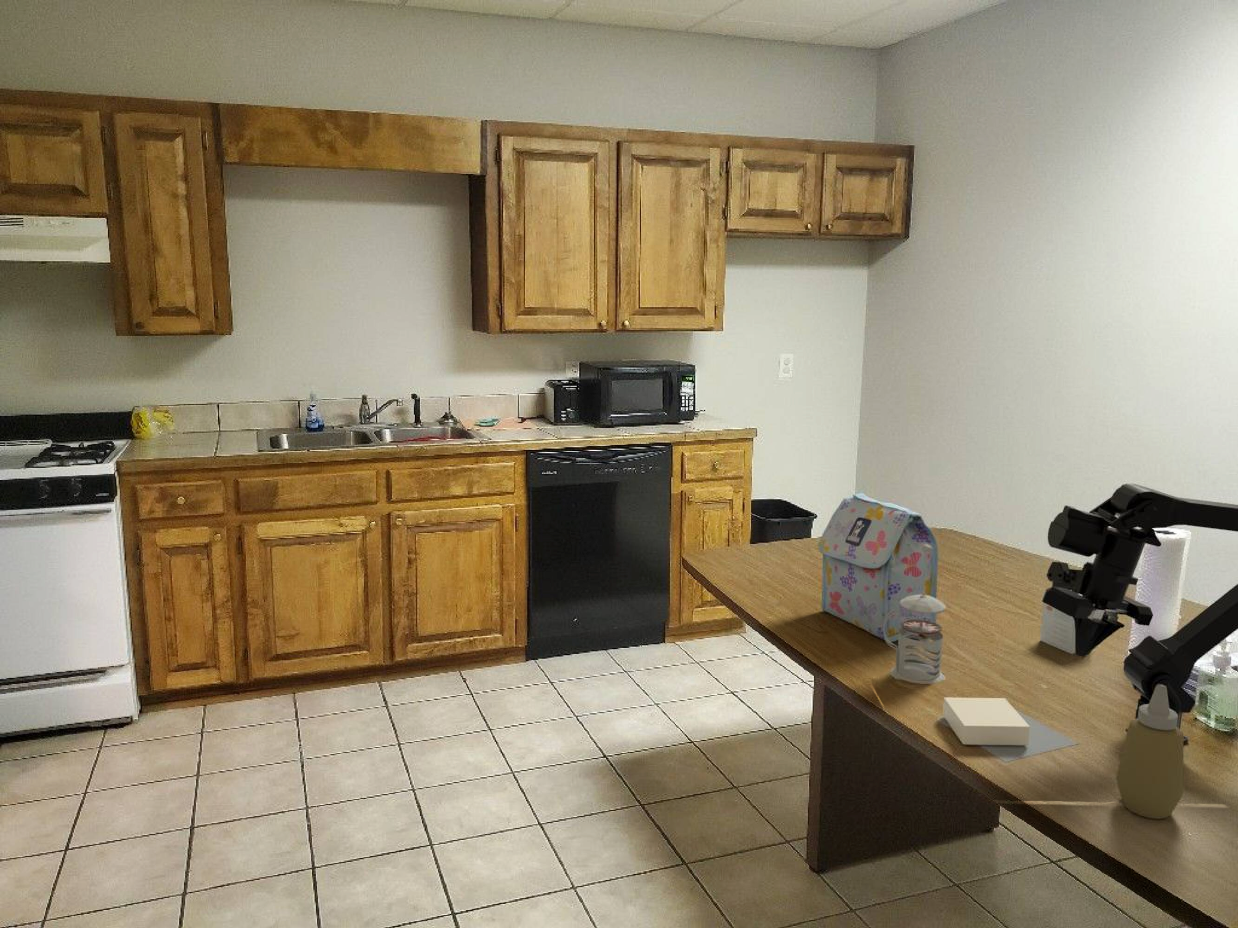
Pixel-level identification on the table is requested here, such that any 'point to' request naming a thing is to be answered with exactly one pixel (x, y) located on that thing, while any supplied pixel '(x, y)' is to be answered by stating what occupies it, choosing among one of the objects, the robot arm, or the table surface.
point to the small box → (1058, 629)
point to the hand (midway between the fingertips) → (1079, 655)
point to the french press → (911, 664)
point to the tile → (985, 721)
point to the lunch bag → (876, 564)
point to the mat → (1038, 742)
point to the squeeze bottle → (1152, 760)
